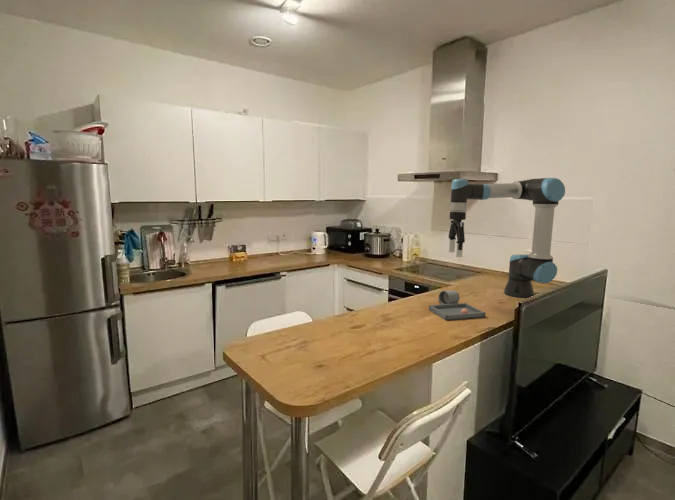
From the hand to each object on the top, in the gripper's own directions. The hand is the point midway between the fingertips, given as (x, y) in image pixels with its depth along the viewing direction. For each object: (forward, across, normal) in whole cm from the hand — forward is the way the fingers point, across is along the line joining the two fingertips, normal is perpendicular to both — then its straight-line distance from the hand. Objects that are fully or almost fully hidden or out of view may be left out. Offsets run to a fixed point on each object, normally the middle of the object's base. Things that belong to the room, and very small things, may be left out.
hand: (455, 254), depth 184 cm
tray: (+27, +12, -1) cm, 29 cm away
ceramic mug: (+27, -4, -1) cm, 27 cm away
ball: (+25, +16, +3) cm, 30 cm away
